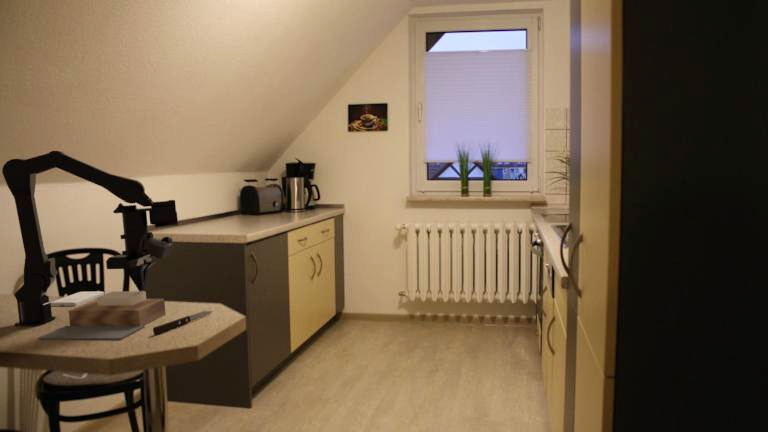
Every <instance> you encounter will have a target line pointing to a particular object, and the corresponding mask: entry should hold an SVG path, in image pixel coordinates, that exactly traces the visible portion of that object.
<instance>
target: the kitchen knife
mask: <svg viewBox="0 0 768 432" xmlns="http://www.w3.org/2000/svg"><path fill="white" fill-rule="evenodd" d="M212 313H213V310H203V311H200V312H197V313H194V314H190V315H186V316H184V317H181V318H178V319H175V320H172V321H169V322H166V323H163V324H160V325H158V326H154V327H153V328H152V332H153V335H154V336H159V335H160V334H162V333H167V332H170V331H172V329H173V330H175V329H178V328H180V326H181V327H183V326H184V325H185V326H186V324H189V322H190V323H192V322H194V321H193V320H195V321H197V320H196V319H198V318H201V317H203V316H206V315H208V316H210V314H212ZM206 317H207V316H206ZM203 318H204V317H203ZM201 319H202V318H201ZM198 320H199V319H198ZM191 321H192V322H191ZM182 325H183V326H182ZM177 327H178V328H177ZM169 330H170V331H169Z"/></svg>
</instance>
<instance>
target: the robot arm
mask: <svg viewBox="0 0 768 432" xmlns="http://www.w3.org/2000/svg"><path fill="white" fill-rule="evenodd" d="M56 168H57V169H59V170H61V171H64V172H66V173H68V174H71V175H74V176H75V177H78V178H79V179H83V180H85V181H88V182H90V183H91V184H94V185H97V186H99V187H101V188H103V189H105V190H106V191H108V192H110V193H111V194H112V195H113V196H115V197H116V198H118V199H120V200H121V201H123V202H124V203H126V204H129V205H124V204H123V203H122V202H120V203H118V204H117V205H118V206H117V207H116V208H115V209H114V210H113V214H121V215H122V217H121V218H122V224H123V225H122V227H123V234H121V235H120V239H121V240H124V246H125V247H124V248H125V249H124V250H122V251H121V254H117V255H114V256H113V255H112V256H110V257H108V258H107V260H106V261H105V266H106V270H124V271H125V272H126V274H127V275H128V276H129V278H130V279H131V280H132V282H133V283H134V285H135V287H136V288H137V291H145V288H146V283H147V279H148V274H149V272H150V269H151V267H152V266H153V265H154V264H156V262H157V260H152V257H154V258H155V259H160V260H162V259H164V258H166V257H167V258H169V257H170V254H171V250H174V249H175V246H174V243H173V238H172V237H170V236H163V237H162V238H155V237H154V233H153V232H152V231H149V226H148V216H149V224H150V225H154V227H155V229H157V228H171V227H178V226H179V221H178V212H177V209H176V208H177V207H176V200H175V199H169V200H165V201H164V200H163V201H153V200H152V198H151V197H149V195H147V193H146V192H145V191H146V190H145V189H146V188H145V186H144V184H143V183H142V182H141V181H140V180H137V179H134V178H129V177H124V176H121V175H116V174H112V173H109V172H107V171H105V170H102V169H100V168H98V167H95V166H93V165H91V164H88V163H86V162H84V161H82V160H80V159H77V158H75V157H72V156H70V155H68V154H66V153H65V152H63V151H60V150H51V151H49V152H47V153H45V154H41V155H38V156H37V155H36V156H34V157H33V156H32V157H30V158H27V159H26V158H12V159H9V160H7V161H6V162H5V163H4V165H2V168H1V169H2V170H1V171H2V175H3V176H2V177H3V179H4V181H5V182H6V186H7V187H8V189H9V191H10V193H11V195H12V197H13V199H14V204H15V210H16V213H17V219H18V224H19V229H20V234H21V240H22V244H23V249H24V255H25V258H24V264H23V265H24V266H23V284H22V285H21V287H20V288H19V289H17V291H16V292H15V293H14V294H13V296H14V297H15V300H16V304H17V313H18V322H14V326H18V325H23V326H31V327H32V326H36V327H37V326H40V325H42V324H45V323H48V322H50V321H53V320H55V319H56V316H53V315H52V313H53V312H52V306H51V303H50V302H51V301H50V296H49V295H46V293H47V292H48V290H49V288H50V287H51V286H52V285H53V283H54V282H55V280H56V276H57V275H58V273H59V272H58V270H57V268H56V257H51V258H49V256H48V254H46V250H45V246H44V241H43V236H42V235H43V234H42V231H41V225H40V220H39V214H38V209H37V204H36V199H35V198H36V197H35V191H36V185H37V181H36V179H37V175H39V174H41V173H44V172H46V171H50V170H52V169H56ZM130 204H131V205H130ZM136 204H138V205H140V206H142V207H143V208H137V205H136ZM147 212H148V214H149V215H147Z"/></svg>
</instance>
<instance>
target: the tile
mask: <svg viewBox="0 0 768 432" xmlns="http://www.w3.org/2000/svg"><path fill="white" fill-rule="evenodd" d="M146 299H147V293H146V290H137V291H136V290H133V291H132V290H131V291H130V290H129V291H121V290H120V291H117V290H116V291H110V292H108V293H104V295H102V296H100V297H97V298H96V300H97V301H98V306H126V305H134V304H137V303H139V302H141V301H143V300H146Z"/></svg>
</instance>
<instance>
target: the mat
mask: <svg viewBox="0 0 768 432" xmlns="http://www.w3.org/2000/svg"><path fill="white" fill-rule="evenodd" d="M144 328H145V326H70V325H64V326H63V327H60V328H58V329H55V330H53V331H50V332H48V333H46V334H43V335H41V336H39V337H38V340H77V341H78V340H81V341H82V340H84V341H85V340H87V341H88V340H89V341H90V340H91V341H94V340H97V341H98V340H99V341H102V340H103V341H105V340H106V341H107V340H109V341H113V340H114V341H117V340H118V341H120V340H123V339H125V338H127V337H129V336H131V335H134V334H136V333H137V332H138V331H140V330H143V329H144Z"/></svg>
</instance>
